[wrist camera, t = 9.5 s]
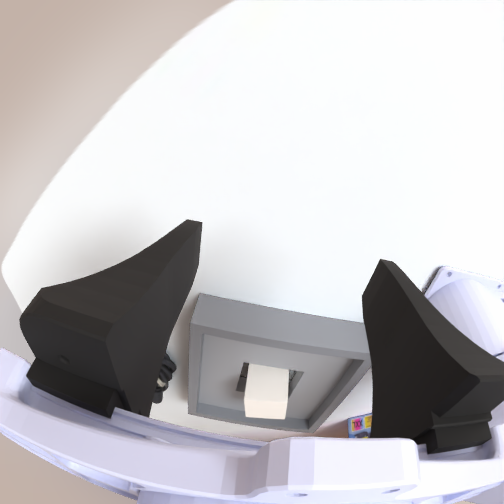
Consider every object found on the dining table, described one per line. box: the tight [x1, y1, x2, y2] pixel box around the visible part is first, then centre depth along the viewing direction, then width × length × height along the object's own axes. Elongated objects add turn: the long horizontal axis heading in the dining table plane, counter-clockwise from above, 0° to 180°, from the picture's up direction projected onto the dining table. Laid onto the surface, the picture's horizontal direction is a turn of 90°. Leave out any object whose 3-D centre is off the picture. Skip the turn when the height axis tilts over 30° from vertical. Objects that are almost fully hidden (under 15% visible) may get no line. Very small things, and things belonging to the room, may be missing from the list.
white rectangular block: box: [244, 363, 289, 419], centre depth 30 cm, size 4×4×6 cm
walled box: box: [188, 293, 371, 433], centre depth 31 cm, size 16×18×4 cm
